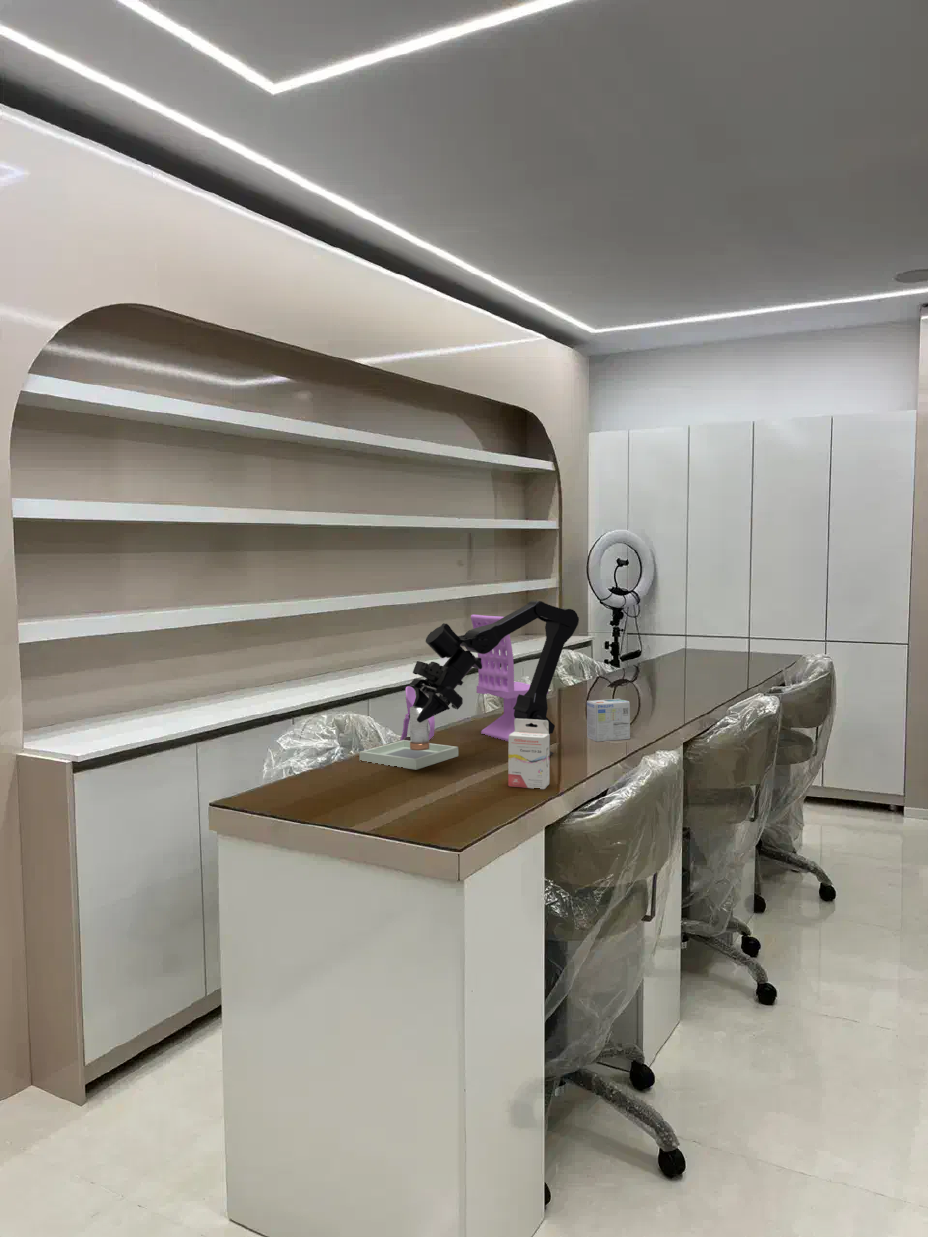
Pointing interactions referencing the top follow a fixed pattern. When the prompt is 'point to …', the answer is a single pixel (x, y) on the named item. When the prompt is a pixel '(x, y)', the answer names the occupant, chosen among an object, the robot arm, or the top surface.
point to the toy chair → (410, 701)
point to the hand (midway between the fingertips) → (413, 719)
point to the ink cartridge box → (529, 754)
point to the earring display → (492, 677)
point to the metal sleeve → (418, 730)
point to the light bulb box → (608, 720)
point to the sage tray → (408, 755)
